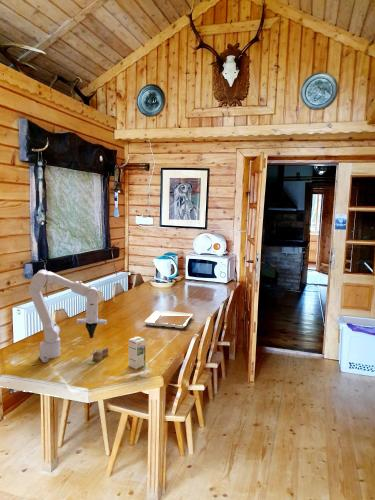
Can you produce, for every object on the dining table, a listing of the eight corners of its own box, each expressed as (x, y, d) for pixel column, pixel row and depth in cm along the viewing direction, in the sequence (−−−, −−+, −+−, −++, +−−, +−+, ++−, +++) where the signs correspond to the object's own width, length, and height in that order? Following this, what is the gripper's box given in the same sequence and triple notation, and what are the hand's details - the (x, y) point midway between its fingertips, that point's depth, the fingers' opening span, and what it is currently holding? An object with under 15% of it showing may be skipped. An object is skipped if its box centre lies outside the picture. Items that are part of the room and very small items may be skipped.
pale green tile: (90, 361, 178) (90, 361, 178) (95, 362, 177) (95, 362, 177) (87, 363, 176) (87, 362, 176) (92, 364, 175) (92, 363, 175)
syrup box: (136, 372, 171) (136, 341, 170) (128, 367, 175) (128, 338, 174) (145, 368, 176) (146, 339, 174) (137, 364, 180) (137, 335, 178)
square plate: (155, 314, 263) (155, 309, 262) (193, 318, 257) (193, 313, 257) (143, 326, 236) (143, 320, 236) (185, 331, 231) (185, 325, 230)
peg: (87, 361, 177) (87, 352, 177) (103, 353, 188) (103, 344, 187) (94, 363, 175) (94, 354, 175) (110, 355, 186) (110, 346, 185)
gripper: (75, 312, 180) (74, 339, 182) (104, 314, 181) (104, 340, 182) (79, 308, 187) (78, 334, 189) (107, 310, 188) (107, 335, 189)
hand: (91, 337), depth 186 cm, fingers closed
